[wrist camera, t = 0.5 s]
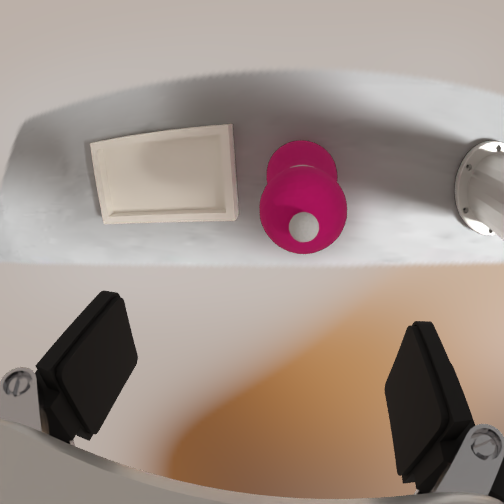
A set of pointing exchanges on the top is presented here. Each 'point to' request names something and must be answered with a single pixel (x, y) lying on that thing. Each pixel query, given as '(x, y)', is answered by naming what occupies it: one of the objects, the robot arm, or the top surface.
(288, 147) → the pepper mill
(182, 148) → the tray
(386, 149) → the top surface
